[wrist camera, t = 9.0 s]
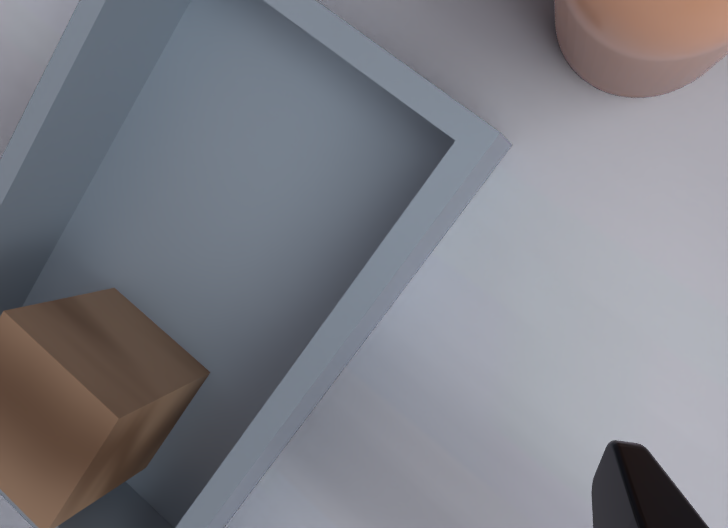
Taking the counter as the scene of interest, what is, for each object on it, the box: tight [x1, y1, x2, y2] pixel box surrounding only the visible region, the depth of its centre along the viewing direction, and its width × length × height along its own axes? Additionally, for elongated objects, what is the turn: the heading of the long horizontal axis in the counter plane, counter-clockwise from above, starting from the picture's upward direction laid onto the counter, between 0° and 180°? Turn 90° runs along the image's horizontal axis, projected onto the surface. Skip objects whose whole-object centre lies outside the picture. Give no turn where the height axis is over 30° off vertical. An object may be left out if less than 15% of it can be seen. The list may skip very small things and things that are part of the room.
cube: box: [0, 288, 210, 528], centre depth 22 cm, size 5×5×5 cm
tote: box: [0, 0, 512, 528], centre depth 21 cm, size 20×13×4 cm, turn 144°
